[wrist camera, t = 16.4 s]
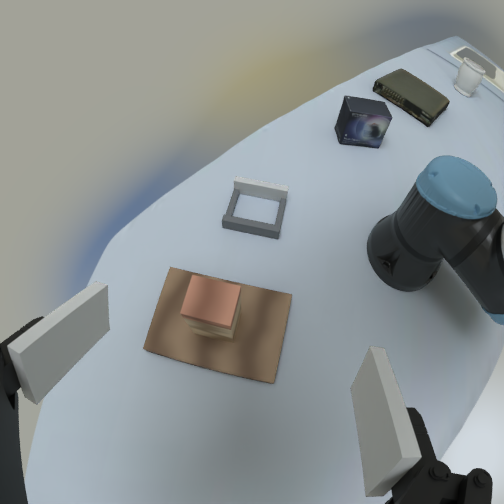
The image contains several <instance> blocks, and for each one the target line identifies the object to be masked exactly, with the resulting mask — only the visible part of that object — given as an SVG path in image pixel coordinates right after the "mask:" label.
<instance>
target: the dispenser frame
mask: <svg viewBox="0 0 504 504" xmlns="http://www.w3.org/2000/svg"><path fill="white" fill-rule="evenodd" d="M288 188H289V186H284V185H279V184H274V183H269V182H264V181H259V180H253V179H248V178H243V177H237V176H236V177H235V179H234V191H233V194H232V197H231V200H230V203H229V206H228V209H227V212H226V215H224V216H223V219H222V225H223V228H226V229H231V230H236V231H241V232H245V233H250V234H255V235H260V236H265V237H269V238H274V239H278V236H279V232H280V227H281V222H282V217H283V212H284V208H285V203H286V198H287V193H288ZM239 194H244V195H249V196H254V197H259V198H264V199H269V200H274V201H279V202H280V205H279V209H278V214H277V218H276V223H275V225H273V224H268V223H263V222H258V221H253V220H249V219H244V218H239V217H234V216H232V215H233V212H234V209H235V206H236V202H237V199H238V196H239Z"/></svg>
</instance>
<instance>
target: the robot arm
mask: <svg viewBox="0 0 504 504" xmlns="http://www.w3.org/2000/svg"><path fill="white" fill-rule="evenodd" d="M496 204H497V194H496V191H495V189H494V188H493V187H492V183H491V181H490V180H489V179H488V177H487V176H486V175H485V174H484V173H483V172H482V171H481V170H480V169H478V168H477V167H476V166H475V165H473V164H471V163H470V162H468V161H466V160H464V159H461V158H459V157H453V156H439V157H436V158H434V159H433V160H432V161H431V162H430V163H429V164H428V165H427V167H426V168H425V169H424V171H423V172H421V173H420V174H419V176H418V177H417V180H416V182H415V184H414V186H413V187H412V189H411V190H410V192H409V193H408V195H407V196H406V198H405V199H404V201H403V202H402V204H401V205H400V207H399V208H398V210H397V211H395V212H394V213H393V214H391V215H389V216H386V217H384V218H383V219H381V220H380V221H379V222H378V223H377V224H376V225H375V227H374V228H373V230H372V231H371V233H370V235H369V238H368V242H367V252H368V257H369V260H370V263H371V265H372V267H373V269H374V270H375V272H376V273H377V274H378V276H379V277H380V278H381V279H382V280H383V281H384V282H386V283H387V284H388V285H390V286H392V287H393V288H396V289H398V290H402V291H416V290H419V289H421V288H423V287H424V286H425V285H427V284H428V283H429V282H430V281H431V280H432V279H433V278H434V277H435V275H436V273H437V271H438V269H439V267H440V265H441V262H442V260H443V258H445V260H446V261H447V262H448V263H449V264H450V265H451V267H452V268H453V269H454V270H455V272H456V273H457V274H458V275H459V277H460V278H461V279H462V281H463V282H464V283H465V284H466V286H467V287H468V288H469V290H470V291H471V292H472V294H473V295H474V297H475V298H476V299H477V301H478V302H479V303H480V305H481V307H482V309H483V310H484V311H485V312H486V313H487V314H489V316H490V317H491V318H492V319H493V320H494V321H495V322H496V323H498V324H500V325H504V217H503V216H502V215H501V214H500V212H499V211H498V210H497V209H496ZM109 330H110V327H109V309H108V285H106V284H103V283H100V282H97V281H96V282H94V283H93V284H91V285H90V286H88V287H87V288H85V289H84V290H83V291H81V292H80V293H78V294H77V295H75V296H74V297H73V298H71V299H70V300H68V301H67V302H65V303H64V304H63V305H61V306H60V307H58V308H57V309H56V310H54V311H53V312H51V313H50V314H49V315H47V316H46V317H39V318H36V319H33V320H32V321H31V322H29V323H28V324H26V325H25V326H23V327H22V328H21V329H20V330H19V331H17V332H15V333H14V334H13V335H11V336H10V337H9V338H8V339H6V340H5V341H3V342H2V343H1V344H0V504H28V501H27V496H26V490H25V484H24V477H23V470H22V461H21V452H20V439H19V419H18V418H19V416H18V393H17V390H18V389H19V388H20V387H21V388H22V391H23V394H24V396H25V397H26V398H27V399H29V400H30V401H32V402H33V403H35V404H38V403H39V402H40V401H41V400H42V399H43V398H44V397H45V396H46V395H47V394H48V392H49V391H50V390H51V389H52V388H53V387H54V386H55V385H56V384H57V383H58V382H59V381H60V380H61V379H62V378H63V377H64V376H65V375H66V374H67V373H68V372H69V370H70V369H71V368H72V367H73V366H74V365H75V364H76V363H77V362H78V361H79V360H80V359H81V358H82V357H83V356H84V355H85V354H86V353H87V352H88V351H89V350H90V349H91V348H92V347H93V346H94V345H95V344H96V343H97V342H98V341H99V340H100V339H101V338H102V337H103V336H104V335H105V334H106V333H107V332H108V331H109ZM351 394H352V400H353V405H354V412H355V418H356V424H357V431H358V437H359V444H360V452H361V459H362V467H363V476H364V484H365V494H366V497H374V496H384V495H385V494H386V493H387V492H388V491H390V490H392V496H393V497H391V498H390V499H389V500H388V501H387V502H386V503H385V504H491V499H492V478H491V476H490V474H489V473H488V472H487V471H485V470H484V469H480V468H476V469H473V470H472V471H471V472H470V473H469V474H468V475H467V476H466V475H460V474H455V473H451V470H450V469H449V467H448V466H447V465H446V464H444V463H443V462H441V461H438V460H437V459H436V456H435V453H434V450H433V447H432V444H431V441H430V438H429V435H428V434H427V433H428V432H427V430H426V427H425V424H424V421H423V419H422V416H421V415H420V414H419V412H418V411H417V410H416V409H415V408H407V407H406V406H405V403H404V400H403V397H402V394H401V392H400V389H399V386H398V383H397V381H396V378H395V375H394V372H393V370H392V367H391V365H390V362H389V359H388V357H387V354H386V352H385V349H384V348H380V347H373V346H370V347H369V350H368V352H367V354H366V356H365V359H364V361H363V363H362V365H361V367H360V370H359V372H358V374H357V376H356V378H355V380H354V382H353V384H352V386H351Z"/></svg>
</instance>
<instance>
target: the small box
mask: <svg viewBox="0 0 504 504" xmlns="http://www.w3.org/2000/svg"><path fill="white" fill-rule="evenodd" d="M391 120H392V116H391V114H390V112H389V110H388V108H387V106H386V104H385V102H381V101H376V100H370V99H364V98H358V97H351V96H344V100H343V104H342V107H341V110H340V113H339V116H338V120H337V123H336V126H335V130H336V133H337V137H338V141H339V143H340V144H347V145H356V146H364V147H372V148H379V146H380V144H381V142H382V139H383V137H384V135H385V133H386V131H387V128H388V126H389V124H390V122H391Z"/></svg>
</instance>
